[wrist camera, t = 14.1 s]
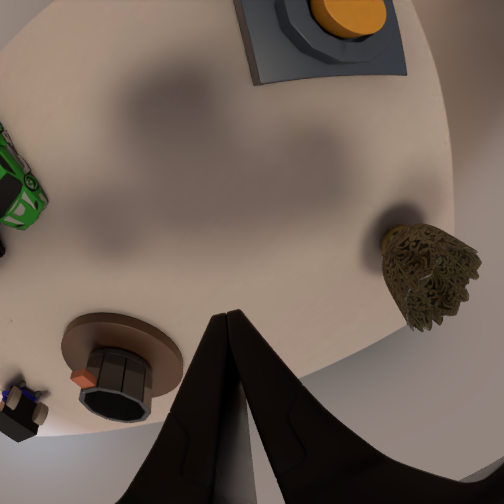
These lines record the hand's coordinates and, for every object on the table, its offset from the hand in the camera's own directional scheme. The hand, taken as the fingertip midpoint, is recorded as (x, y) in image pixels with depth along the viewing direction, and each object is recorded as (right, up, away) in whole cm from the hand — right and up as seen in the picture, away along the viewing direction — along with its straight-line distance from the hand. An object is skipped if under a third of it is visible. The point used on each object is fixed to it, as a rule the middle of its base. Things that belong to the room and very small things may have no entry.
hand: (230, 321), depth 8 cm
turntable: (-13, -9, +17) cm, 23 cm away
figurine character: (-35, -20, +20) cm, 45 cm away
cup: (+13, +3, +15) cm, 20 cm away
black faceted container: (-13, -9, +16) cm, 22 cm away
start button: (+5, +15, +2) cm, 16 cm away
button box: (+5, +17, +5) cm, 18 cm away
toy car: (-18, +8, +6) cm, 21 cm away
